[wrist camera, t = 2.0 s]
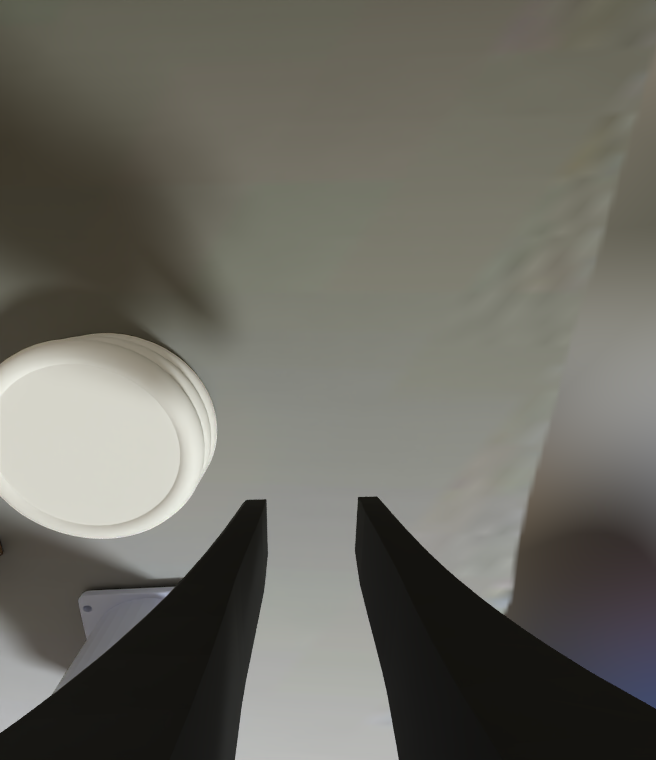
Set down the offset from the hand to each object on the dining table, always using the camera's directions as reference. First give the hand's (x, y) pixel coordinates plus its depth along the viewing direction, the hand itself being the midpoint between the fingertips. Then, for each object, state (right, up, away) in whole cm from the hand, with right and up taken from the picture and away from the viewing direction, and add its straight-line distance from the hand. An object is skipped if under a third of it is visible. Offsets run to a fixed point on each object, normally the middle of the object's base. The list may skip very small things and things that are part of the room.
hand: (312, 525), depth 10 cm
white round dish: (-11, +2, +8) cm, 13 cm away
